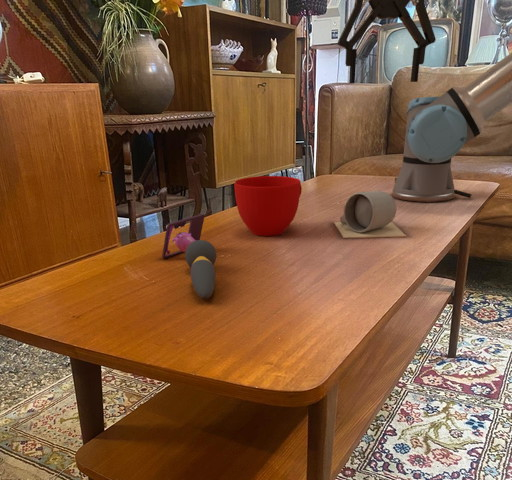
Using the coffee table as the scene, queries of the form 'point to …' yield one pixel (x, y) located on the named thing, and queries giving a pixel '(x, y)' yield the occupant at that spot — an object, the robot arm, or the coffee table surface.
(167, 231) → the purple open frame
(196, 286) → the grey wand massager
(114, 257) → the coffee table surface
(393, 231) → the coaster
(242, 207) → the ceramic cup
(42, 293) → the coffee table surface
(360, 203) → the ceramic mug
